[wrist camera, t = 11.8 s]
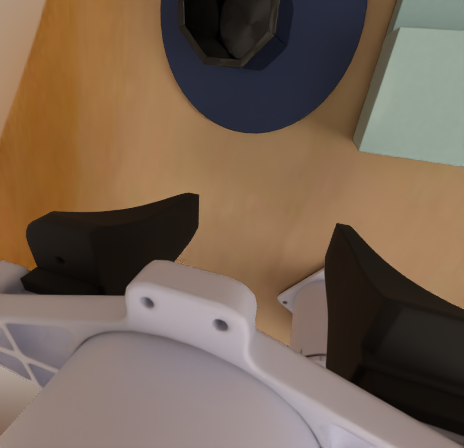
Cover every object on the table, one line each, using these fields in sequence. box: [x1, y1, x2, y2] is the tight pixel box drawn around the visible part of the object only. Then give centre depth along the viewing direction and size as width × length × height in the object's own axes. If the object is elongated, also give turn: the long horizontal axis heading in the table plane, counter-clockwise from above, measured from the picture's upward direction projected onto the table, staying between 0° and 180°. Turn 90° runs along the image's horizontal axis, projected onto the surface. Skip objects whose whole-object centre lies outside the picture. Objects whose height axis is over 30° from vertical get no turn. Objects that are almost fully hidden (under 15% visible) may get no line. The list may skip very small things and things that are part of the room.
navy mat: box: [161, 0, 367, 133], centre depth 18 cm, size 14×14×1 cm
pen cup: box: [177, 0, 294, 71], centre depth 15 cm, size 5×5×6 cm
